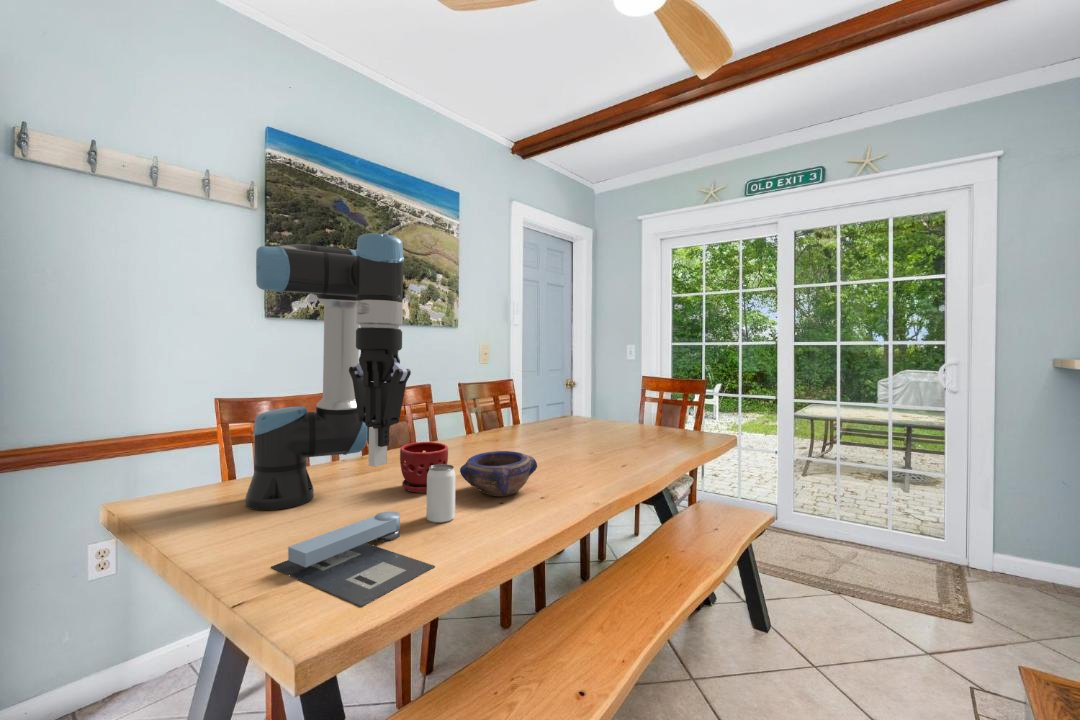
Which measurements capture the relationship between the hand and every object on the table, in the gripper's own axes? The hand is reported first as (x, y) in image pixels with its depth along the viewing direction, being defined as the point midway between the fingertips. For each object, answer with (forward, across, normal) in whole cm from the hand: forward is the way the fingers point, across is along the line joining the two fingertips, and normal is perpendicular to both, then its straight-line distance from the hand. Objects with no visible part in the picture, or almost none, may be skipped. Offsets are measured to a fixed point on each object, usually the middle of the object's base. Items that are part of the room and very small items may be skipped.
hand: (377, 464), depth 82 cm
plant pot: (+20, -30, +42) cm, 55 cm away
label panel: (+19, -6, 0) cm, 20 cm away
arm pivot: (+19, -12, +13) cm, 26 cm away
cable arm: (+18, -12, +4) cm, 22 cm away
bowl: (+20, -11, +51) cm, 56 cm away
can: (+20, -10, +27) cm, 35 cm away
